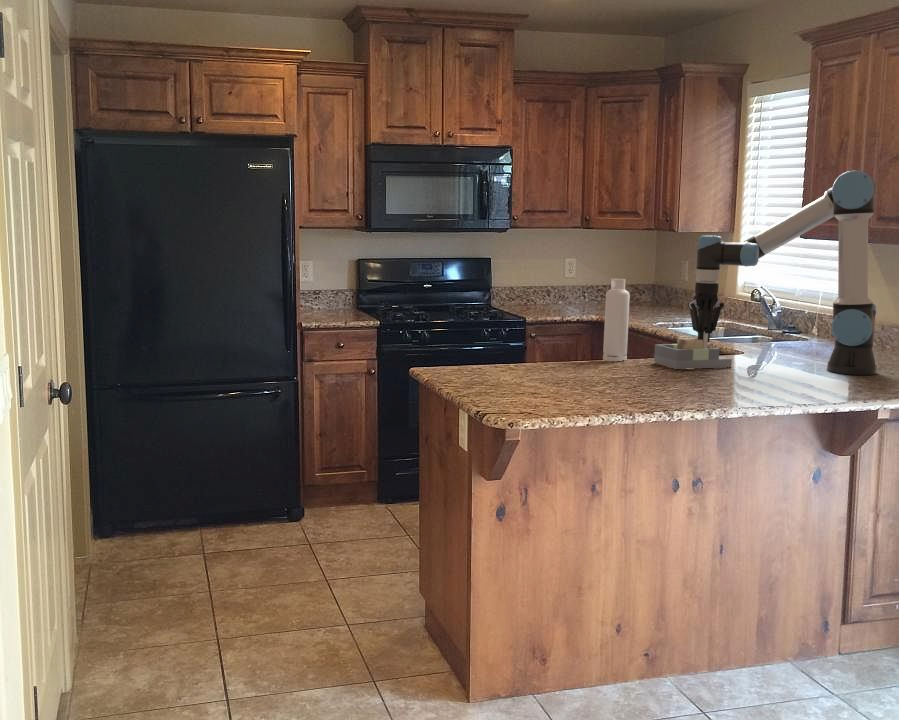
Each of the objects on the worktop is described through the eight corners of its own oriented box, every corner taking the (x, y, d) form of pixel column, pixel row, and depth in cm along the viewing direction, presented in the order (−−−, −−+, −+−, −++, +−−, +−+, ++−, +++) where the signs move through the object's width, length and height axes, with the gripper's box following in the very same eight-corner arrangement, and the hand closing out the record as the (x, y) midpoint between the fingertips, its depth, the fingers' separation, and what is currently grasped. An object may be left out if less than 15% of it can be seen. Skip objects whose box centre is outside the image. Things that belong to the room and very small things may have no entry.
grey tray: (731, 367, 327) (732, 348, 326) (676, 369, 320) (677, 350, 319) (706, 361, 340) (708, 342, 339) (653, 363, 333) (654, 344, 332)
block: (702, 357, 327) (703, 340, 326) (686, 358, 325) (687, 340, 324) (691, 355, 333) (692, 337, 332) (676, 355, 331) (677, 338, 330)
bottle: (631, 361, 337) (635, 279, 333) (610, 362, 334) (614, 279, 330) (618, 357, 344) (622, 278, 340) (598, 358, 341) (602, 278, 337)
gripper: (717, 281, 333) (712, 349, 336) (684, 281, 328) (679, 351, 332) (730, 282, 326) (725, 353, 329) (696, 283, 321) (692, 354, 325)
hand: (702, 352), depth 331 cm, fingers closed
